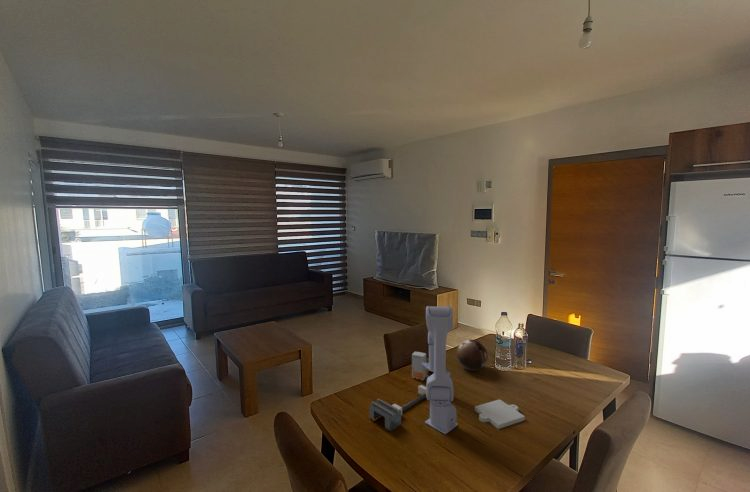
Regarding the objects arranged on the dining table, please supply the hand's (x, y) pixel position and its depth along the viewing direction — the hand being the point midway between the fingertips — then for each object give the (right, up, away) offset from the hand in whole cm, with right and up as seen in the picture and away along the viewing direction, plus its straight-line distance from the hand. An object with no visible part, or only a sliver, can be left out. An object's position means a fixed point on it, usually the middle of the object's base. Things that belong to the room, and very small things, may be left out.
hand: (435, 387), depth 147 cm
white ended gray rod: (-13, -3, -12) cm, 17 cm away
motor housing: (-23, -4, -21) cm, 32 cm away
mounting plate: (+22, -4, -18) cm, 28 cm away
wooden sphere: (+22, 0, +21) cm, 31 cm away
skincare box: (-6, -1, +13) cm, 14 cm away
